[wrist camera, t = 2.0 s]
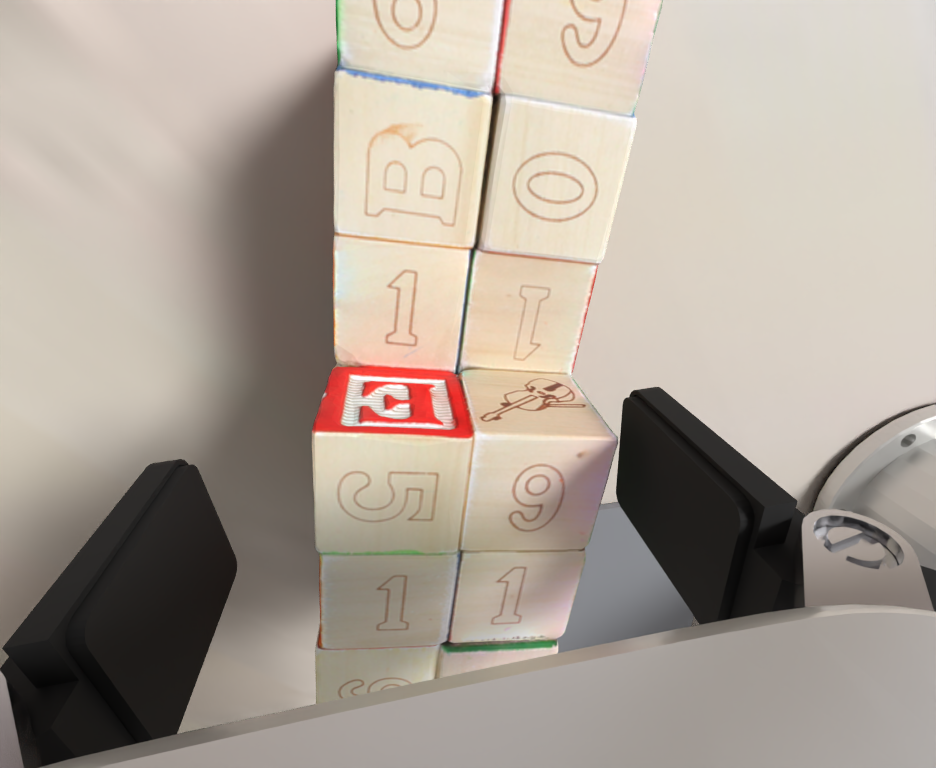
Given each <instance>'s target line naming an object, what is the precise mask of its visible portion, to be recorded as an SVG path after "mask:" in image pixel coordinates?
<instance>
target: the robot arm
mask: <svg viewBox="0 0 936 768" xmlns="http://www.w3.org/2000/svg"><path fill="white" fill-rule="evenodd" d="M616 495H617V499H618V502H619V505H620V507H621V508H622V510H623V511H624V513H625V514H626V516H627V517H628V519H629V520H630V522H631V523H632V525H633V526H634V528H635V529H636V531H637V532H638V534H639V535H640V536H641V538H642V539H643V541H644V542H645V544H646V545H647V547H648V548H649V550H650V551H651V553H652V554H653V556H654V557H655V559H656V560H657V562H658V563H659V565H660V566H661V568H662V569H663V571H664V572H665V574H666V575H667V577H668V578H669V579H670V581H671V582H672V584H673V585H674V587H675V588H676V590H677V591H678V593H679V594H680V596H681V597H682V599H683V600H684V602H685V603H686V605H687V606H688V608H689V609H690V611H691V612H692V614H693V615H694V617H695V618H696V620H697V621H698V623H699V624H700V625H696V626H690V627H685V628H680V629H675V630H670V631H665V632H660V633H655V634H650V635H645V636H640V637H635V638H630V639H626V640H621V641H616V642H611V643H606V644H601V645H596V646H591V647H586V648H581V649H577V650H572V651H567V652H562V653H557V654H552V655H547V656H542V657H537V658H532V659H528V660H523V661H518V662H513V663H509V664H504V665H499V666H494V667H489V668H485V669H480V670H475V671H470V672H465V673H461V674H456V675H451V676H446V677H442V678H437V679H432V680H427V681H423V682H418V683H413V684H408V685H404V686H399V687H394V688H389V689H385V690H380V691H375V692H370V693H366V694H361V695H356V696H351V697H347V698H342V699H337V700H333V701H328V702H323V703H319V704H314V705H310V706H305V707H300V708H296V709H291V710H286V711H282V712H277V713H272V714H268V715H263V716H259V717H254V718H249V719H245V720H240V721H235V722H231V723H226V724H221V725H217V726H212V727H208V728H203V729H198V730H194V731H189V732H184V733H180V734H177V732H178V730H179V727H180V724H181V722H182V719H183V716H184V713H185V711H186V708H187V705H188V703H189V700H190V697H191V695H192V692H193V689H194V687H195V684H196V681H197V678H198V676H199V673H200V670H201V668H202V665H203V662H204V660H205V657H206V654H207V652H208V649H209V646H210V643H211V641H212V638H213V635H214V633H215V630H216V627H217V625H218V622H219V619H220V617H221V614H222V611H223V609H224V606H225V603H226V600H227V598H228V595H229V592H230V590H231V587H232V584H233V582H234V579H235V576H236V572H237V561H236V557H235V554H234V552H233V550H232V547H231V545H230V543H229V540H228V538H227V536H226V534H225V531H224V529H223V527H222V524H221V522H220V520H219V517H218V515H217V513H216V510H215V508H214V506H213V503H212V501H211V499H210V496H209V494H208V492H207V489H206V487H205V485H204V482H203V480H202V478H201V475H200V473H199V471H198V469H197V467H196V466H195V465H188V463H187V462H186V461H185V460H182V459H179V460H173V461H166V462H160V463H153V464H150V465H149V466H148V467H146V469H145V470H144V471H143V472H142V474H141V475H140V476H139V477H138V479H137V480H136V481H135V482H134V484H133V485H132V486H131V487H130V489H129V490H128V491H127V492H126V494H125V495H124V496H123V497H122V499H121V500H120V501H119V503H118V504H117V505H116V506H115V508H114V509H113V510H112V511H111V513H110V514H109V515H108V516H107V518H106V519H105V520H104V521H103V523H102V524H101V525H100V526H99V528H98V529H97V530H96V531H95V533H94V534H93V535H92V536H91V538H90V539H89V540H88V541H87V543H86V544H85V545H84V546H83V548H82V549H81V550H80V551H79V553H78V554H77V555H76V556H75V558H74V559H73V560H72V561H71V563H70V564H69V565H68V566H67V568H66V569H65V570H64V571H63V573H62V574H61V575H60V577H59V578H58V579H57V580H56V582H55V583H54V584H53V585H52V587H51V588H50V589H49V590H48V592H47V593H46V594H45V595H44V597H43V598H42V599H41V600H40V602H39V603H38V604H37V605H36V607H35V608H34V609H33V610H32V612H31V613H30V614H29V615H28V617H27V618H26V619H25V620H24V622H23V623H22V624H21V625H20V627H19V628H18V629H17V630H16V632H15V633H14V634H13V635H12V637H11V638H10V639H9V640H8V642H7V643H6V644H5V645H4V647H3V648H2V649H3V650H4V651H5V652H6V653H7V654H8V656H9V658H8V659H7V660H6V662H5V663H4V664H3V665H2V667H1V668H0V768H936V404H935V405H931V406H928V407H925V408H922V409H918V410H915V411H913V412H910V413H908V414H906V415H904V416H902V417H900V418H897V419H895V420H893V421H892V422H890V423H888V424H887V425H885V426H883V427H882V428H880V429H879V430H877V431H875V432H874V433H873V434H871V435H870V436H869V437H867V438H866V439H865V440H864V441H862V442H861V443H860V444H859V445H857V446H856V447H855V448H854V449H853V450H852V451H851V452H850V453H849V454H848V455H847V456H846V457H845V458H844V459H843V460H842V461H841V462H840V463H839V465H838V466H837V467H836V469H835V470H834V471H833V472H832V474H831V475H830V476H829V478H828V479H827V481H826V483H825V484H824V486H823V488H822V490H821V491H820V493H819V495H818V498H817V501H816V504H815V506H814V509H813V512H811V513H809V514H808V515H807V516H805V515H803V514H802V513H801V512H800V511H799V510H798V509H796V504H797V500H796V499H794V498H793V497H792V496H791V495H789V494H788V493H787V492H786V491H785V490H783V489H782V488H781V487H780V486H779V485H777V484H776V483H775V482H774V481H773V480H771V479H770V478H769V477H768V476H767V475H765V474H764V473H763V472H762V471H760V470H759V469H758V468H757V467H756V466H754V465H753V464H752V463H751V462H750V461H748V460H747V459H746V458H745V457H744V456H742V455H741V454H740V453H739V452H737V451H736V450H735V449H734V448H733V447H731V446H730V445H729V444H728V443H727V442H725V441H724V440H723V439H722V438H721V437H719V436H718V435H717V434H716V433H715V432H713V431H712V430H711V429H710V428H708V427H707V426H706V425H705V424H704V423H702V422H701V421H700V420H699V419H698V418H696V417H695V416H694V415H693V414H692V413H690V412H689V411H688V410H687V409H686V408H684V407H683V406H682V405H681V404H679V403H678V402H677V401H676V400H675V399H673V398H672V397H671V396H670V395H669V394H667V393H666V392H665V391H664V390H663V389H661V388H659V387H653V388H647V389H640V390H634V391H632V392H631V394H630V397H629V398H626V399H624V402H623V409H622V422H621V435H620V448H619V461H618V473H617V486H616Z"/></svg>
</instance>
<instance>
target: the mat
mask: <svg viewBox="0 0 936 768" xmlns="http://www.w3.org/2000/svg"><path fill="white" fill-rule="evenodd" d="M585 553H586V561H585V565H584V568H583V572H582V575H581V578H580V581H579V585H578V589H577V592H576V596H575V600H574V603H573V606H572V609H571V613H570V618H569V621H568V624H567V626H566V631H565V633H564V634H563V635H562V636H561V637H559V638H557V641H558V653H562V652H567V651H572V650H577V649H581V648H586V647H591V646H596V645H601V644H606V643H611V642H616V641H621V640H626V639H630V638H635V637H640V636H645V635H650V634H655V633H660V632H665V631H670V630H675V629H680V628H685V627H690V626H692V622H693V616H694V615H693V614H692V612H691V611H690V609H689V608H688V606H687V605H686V603H685V602H684V600H683V599H682V597H681V596H680V594H679V593H678V591H677V590H676V588H675V587H674V585H673V584H672V582H671V581H670V579H669V578H668V577H667V575H666V574H665V572H664V571H663V569H662V568H661V566H660V565H659V563H658V562H657V560H656V559H655V557H654V556H653V554H652V553H651V551H650V550H649V548H648V547H647V545H646V544H645V542H644V541H643V539H642V538H641V536H640V535H639V534H638V532H637V531H636V529H635V528H634V526H633V525H632V523H631V522H630V520H629V519H628V517H627V516H626V514H625V513H624V511H623V510H622V508H621V507H620V505H619V502H616V503H610V504H603V505H600V507H599V511H598V514H597V518H596V521H595V525H594V528H593V532H592V535H591V539H590V542H589V544H588V545H587V546H586V547H585Z"/></svg>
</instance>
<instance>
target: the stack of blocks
mask: <svg viewBox="0 0 936 768" xmlns="http://www.w3.org/2000/svg"><path fill="white" fill-rule="evenodd" d="M662 2H663V0H336V31H337V56H338V65H337V68H336V70H335V72H334V243H333V309H334V354H335V359H336V361H337V363H336V365H335V367H334V368H333V369H332V371H331V374H330V376H329V378H328V384H327V387H326V389H325V392H324V395H323V396H322V400H321V403H320V406H319V410H318V413H317V416H316V418H315V421H314V425H313V429H312V459H313V495H314V525H315V549H316V550H317V551H318V553H319V555H320V565H319V591H320V625H319V631H318V637H317V642H316V650H315V658H316V704H319V703H323V702H328V701H333V700H337V699H342V698H347V697H351V696H356V695H361V694H366V693H370V692H375V691H380V690H385V689H389V688H394V687H399V686H404V685H408V684H413V683H418V682H423V681H427V680H432V679H437V678H442V677H446V676H451V675H456V674H461V673H465V672H470V671H475V670H480V669H485V668H489V667H494V666H499V665H504V664H509V663H513V662H518V661H523V660H528V659H532V658H537V657H542V656H547V655H552V654H557V653H558V641H557V638H559V637H561V636H562V635H563V634H564V633H565V631H566V626H567V624H568V621H569V618H570V613H571V609H572V606H573V603H574V600H575V596H576V592H577V589H578V585H579V581H580V578H581V575H582V572H583V568H584V565H585V561H586V553H585V547H586V546H587V545H588V544H589V542H590V539H591V535H592V532H593V528H594V525H595V521H596V518H597V514H598V511H599V507H600V504H601V500H602V497H603V493H604V490H605V487H606V483H607V480H608V476H609V472H610V469H611V465H612V461H613V457H614V454H615V451H616V448H617V445H618V437H617V436H616V435H615V434H614V433H613V432H612V430H611V429H610V428H609V426H608V425H607V424H606V422H605V421H604V420H603V418H602V417H601V415H600V414H599V413H598V411H597V410H596V409H595V407H594V406H593V405H592V403H591V402H590V401H589V400H588V398H587V397H586V396H585V394H584V393H583V391H582V390H581V389H580V387H579V386H578V384H577V383H576V382H575V380H574V379H573V378H572V376H571V375H572V372H573V368H574V365H575V360H576V356H577V352H578V348H579V344H580V340H581V335H582V331H583V327H584V323H585V319H586V315H587V311H588V307H589V303H590V299H591V294H592V290H593V286H594V282H595V278H596V273H597V267H598V265H599V264H600V263H601V262H602V261H603V258H604V255H605V251H606V247H607V243H608V239H609V235H610V231H611V227H612V223H613V219H614V215H615V211H616V207H617V203H618V199H619V195H620V191H621V187H622V183H623V179H624V175H625V171H626V167H627V162H628V158H629V154H630V150H631V146H632V142H633V138H634V134H635V130H636V126H637V119H636V117H635V116H634V110H635V107H636V104H637V102H638V98H639V95H640V91H641V87H642V84H643V80H644V76H645V72H646V68H647V64H648V60H649V55H650V51H651V46H652V42H653V38H654V34H655V30H656V26H657V23H658V19H659V15H660V11H661V8H662Z"/></svg>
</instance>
